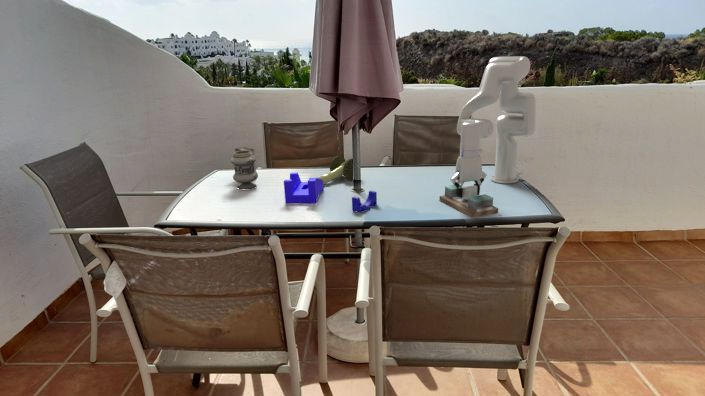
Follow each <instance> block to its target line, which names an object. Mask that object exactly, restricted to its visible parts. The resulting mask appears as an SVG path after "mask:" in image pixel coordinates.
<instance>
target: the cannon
mask: <svg viewBox="0 0 705 396" xmlns="http://www.w3.org/2000/svg"><path fill="white" fill-rule="evenodd" d="M353 159H354V158H353V157H352V158H351V157H350V158H349V159H347V160H346V158H345V157H344V156H341V155H336V156H334V157H333V158H332V159H331V161H330V165H329V172H328V173H325V174H322V175H320V176H319V177H318V178H319V179H321V180H323V186H324V185H326V184H328V183H330V182H331V181H332V180H333V181H334V179H337V178H342V177H344V178H345V180H346V181H349V182H352V181H354V180H353Z"/></svg>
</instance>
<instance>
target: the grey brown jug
mask: <svg viewBox="0 0 705 396" xmlns="http://www.w3.org/2000/svg"><path fill="white" fill-rule="evenodd" d="M234 150H235V151H234V152H236V151H241V150H250V151H251V152H252V155H254V156H255V155H256V154H255V149H254V148H251V147H247V146H244V147H243V146H242V147H237V148H235V149H234ZM255 157H256V156H255ZM254 169H255V171H256V172H257V168H256V161H255V162H254Z"/></svg>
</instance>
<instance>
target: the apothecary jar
mask: <svg viewBox="0 0 705 396" xmlns="http://www.w3.org/2000/svg"><path fill="white" fill-rule="evenodd" d="M254 155H255V154H254ZM254 155H252V152H251V151H250V150H241V151H236V152H235V151H234V152H233V156H232V157H231V159H230V162H231V164H232V165H233V166H234V174H233V175H232V178H233V180H234V181H235V182H236V183H239V185H237V186H236V189H237V188H239V189H250V190H253V189H252V188H254V189H256V188H257V184H256V183H252V182H254V181H256V180H257V179H258V177H259V173H258V172H257V170H256V171H255V169H254V162H255V163H256V161H257V159H256V156H254ZM255 187H256V188H255Z"/></svg>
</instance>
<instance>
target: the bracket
mask: <svg viewBox="0 0 705 396" xmlns="http://www.w3.org/2000/svg"><path fill="white" fill-rule="evenodd" d="M283 189H284V200H285V201H284V203H300V204H317V203H318V198H319V197H320V195H321V192H323V191H324V185H323V180H321V179H319V177H309V178H308V180H307V181H302V180H301V178H300V175H299V173H298V172H290V173H289V179H284V180H283ZM316 202H317V203H316Z"/></svg>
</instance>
